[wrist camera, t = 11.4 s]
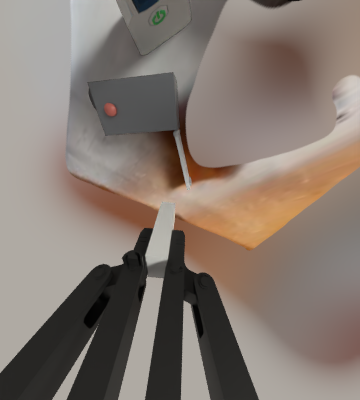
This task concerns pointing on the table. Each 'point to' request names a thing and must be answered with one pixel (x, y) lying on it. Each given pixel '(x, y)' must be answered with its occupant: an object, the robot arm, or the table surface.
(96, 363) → the robot arm
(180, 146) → the grey thin flat plate
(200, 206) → the table surface
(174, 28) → the electronic device
